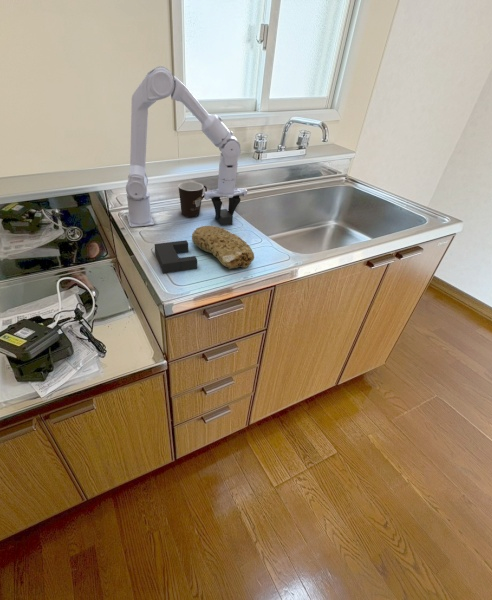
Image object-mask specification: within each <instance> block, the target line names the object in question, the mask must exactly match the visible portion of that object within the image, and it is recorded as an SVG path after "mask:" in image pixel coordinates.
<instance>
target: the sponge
mask: <svg viewBox="0 0 492 600" xmlns="http://www.w3.org/2000/svg"><path fill="white" fill-rule="evenodd" d="M191 241H192V243H193V244H194V245H195V246H196V247H197V248H199V249H200V250H202V251H204V252H206V253H209V254H212V255H213V256H214V257H215V258H217V260H218V261H219V262H220V263H221V265H223V266H224V267H226V268H228V269H229V270H230V269H231V270H232V269H237V268H248V267H249V266H251V263H252V262H253V261H254V260H255V252H254V251H253V250H252V248H251V247H250V245H249V244H247V242H246V241H245V240H243V238H241V237H240V236H238V234H235V233H232V232H230V231H229V230H226V229H225V228H223V227H220V226H214V225H204V226H203V225H202V226H200V227H196V228H195V230H194V231H193V232H192V234H191ZM228 269H227V270H228Z"/></svg>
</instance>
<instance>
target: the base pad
mask: <svg viewBox="0 0 492 600" xmlns="http://www.w3.org/2000/svg"><path fill="white" fill-rule="evenodd" d="M185 253H189V242H188V240H187V239H185V240H176V241H167V242H159V243H154V254H155V257H156V259H157V262H158V264H159V267H160V269H161V272H162V274H170V273H177V272H184V271H191V270H197V269H198V258H197V256H196V255H192V256H185V257H179V254H185Z"/></svg>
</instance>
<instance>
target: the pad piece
mask: <svg viewBox="0 0 492 600" xmlns="http://www.w3.org/2000/svg"><path fill="white" fill-rule="evenodd" d="M215 219H216V221H217V223H219V224H220V226H231V225H233V220H234V215H233V216H232V215H231V214H230V213H229V211H228V209H227V208H223V209H222V208H221V211H220V219H217V218H216V214H215Z"/></svg>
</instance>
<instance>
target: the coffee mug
mask: <svg viewBox="0 0 492 600" xmlns="http://www.w3.org/2000/svg"><path fill="white" fill-rule="evenodd" d="M204 189H205V191H204ZM207 191H208V187H207V186H206V185H204V184H203V183H200V182H195V181H185V182H181V183H179V184H178V195H179V203H180V210H181V211H180V213H181V215H182V216H183V217H185V218H188V219H189V218H190V219H193V218H197V217H199V216H200V212H201V207H202V200H203V199H205V198H204V192H207Z"/></svg>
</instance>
